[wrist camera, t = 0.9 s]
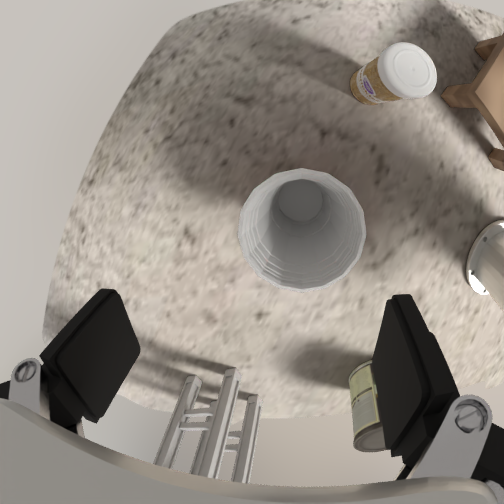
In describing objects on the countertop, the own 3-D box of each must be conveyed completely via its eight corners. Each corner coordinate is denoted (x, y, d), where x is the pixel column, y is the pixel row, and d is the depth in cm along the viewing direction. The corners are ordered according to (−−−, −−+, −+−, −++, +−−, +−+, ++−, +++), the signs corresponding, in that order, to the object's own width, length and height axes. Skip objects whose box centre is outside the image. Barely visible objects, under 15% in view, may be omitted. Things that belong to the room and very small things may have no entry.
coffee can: (395, 349, 42) (414, 416, 29) (403, 380, 45) (417, 439, 32) (341, 369, 45) (346, 437, 32) (355, 397, 48) (360, 457, 36)
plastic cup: (345, 154, 30) (372, 171, 19) (342, 239, 35) (360, 292, 24) (252, 154, 32) (230, 171, 21) (258, 239, 36) (241, 291, 26)
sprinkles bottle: (341, 83, 26) (371, 59, 15) (367, 62, 25) (410, 30, 13) (368, 113, 27) (413, 109, 16) (393, 91, 26) (449, 79, 14)
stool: (173, 371, 51) (108, 523, 20) (240, 358, 47) (189, 554, 16) (214, 412, 57) (174, 546, 26) (276, 404, 52) (252, 562, 21)
